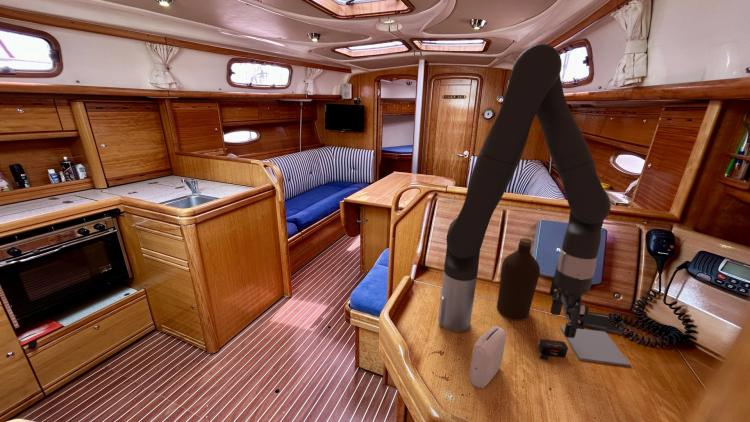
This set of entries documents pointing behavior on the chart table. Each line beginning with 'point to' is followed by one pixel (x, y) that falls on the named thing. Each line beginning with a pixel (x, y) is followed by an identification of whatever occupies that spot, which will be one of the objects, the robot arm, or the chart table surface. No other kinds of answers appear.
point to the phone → (601, 322)
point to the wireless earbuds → (552, 349)
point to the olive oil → (518, 282)
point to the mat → (596, 347)
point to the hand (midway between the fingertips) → (561, 324)
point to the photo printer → (487, 356)
